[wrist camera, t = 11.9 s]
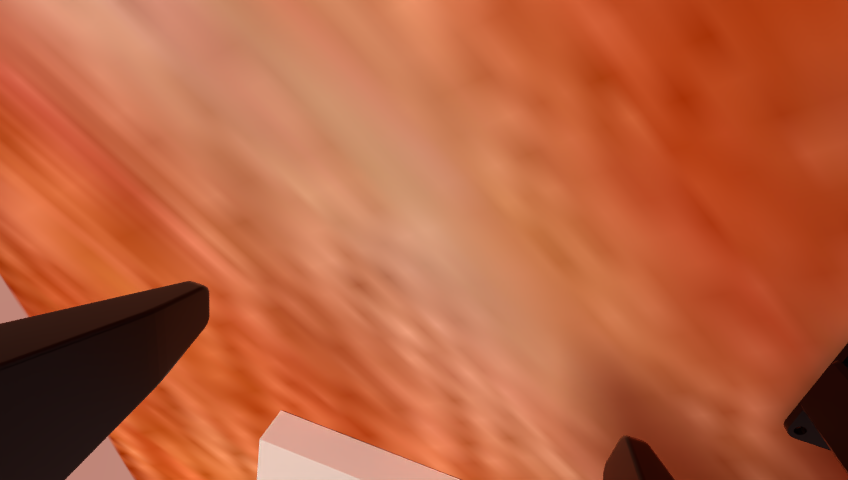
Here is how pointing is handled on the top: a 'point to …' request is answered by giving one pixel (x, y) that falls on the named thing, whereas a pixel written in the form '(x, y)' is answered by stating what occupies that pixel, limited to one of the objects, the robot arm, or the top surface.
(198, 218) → the top surface
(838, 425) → the robot arm
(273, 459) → the board
